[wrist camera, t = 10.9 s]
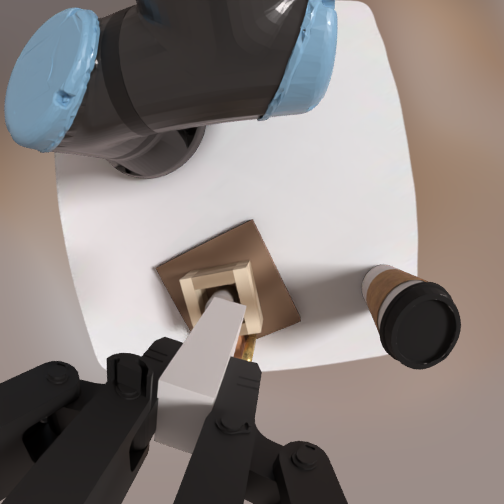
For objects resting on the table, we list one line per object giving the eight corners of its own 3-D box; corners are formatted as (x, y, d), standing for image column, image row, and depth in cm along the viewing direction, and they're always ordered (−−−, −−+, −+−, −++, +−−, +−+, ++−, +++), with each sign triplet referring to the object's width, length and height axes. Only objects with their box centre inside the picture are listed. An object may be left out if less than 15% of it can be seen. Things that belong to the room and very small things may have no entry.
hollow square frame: (189, 271, 37) (179, 279, 34) (250, 259, 36) (245, 267, 32) (214, 358, 40) (208, 373, 36) (270, 351, 38) (268, 367, 35)
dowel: (246, 333, 38) (238, 360, 32) (254, 330, 38) (248, 356, 32) (250, 341, 39) (243, 368, 32) (258, 338, 38) (252, 365, 32)
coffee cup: (376, 326, 38) (414, 388, 23) (339, 285, 37) (369, 338, 22) (419, 285, 36) (476, 329, 21) (385, 241, 35) (441, 270, 21)
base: (159, 266, 39) (138, 278, 33) (252, 219, 37) (246, 224, 30) (208, 353, 41) (196, 377, 35) (300, 317, 38) (302, 339, 32)
